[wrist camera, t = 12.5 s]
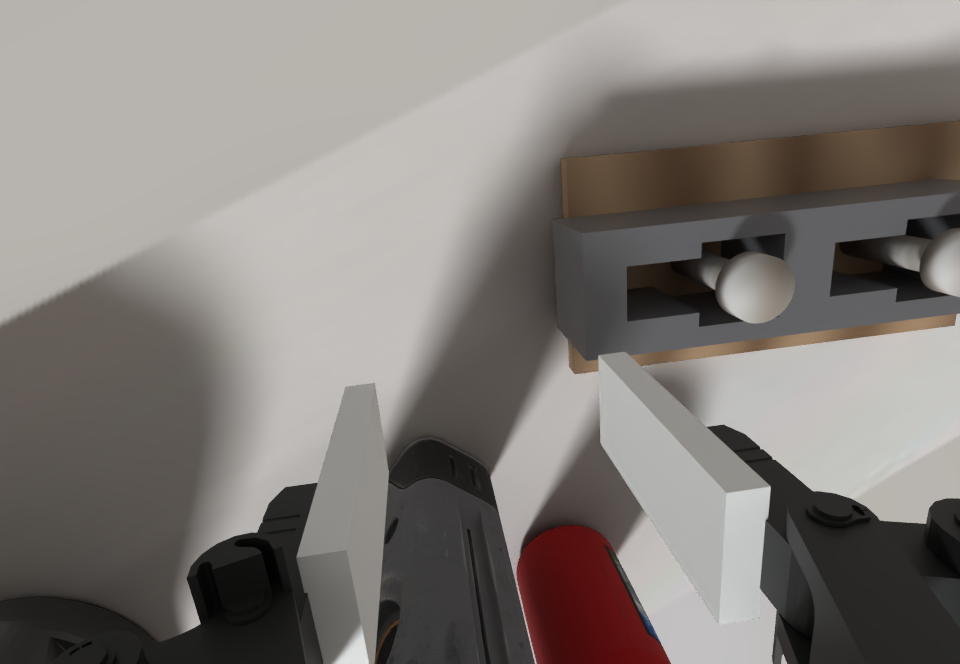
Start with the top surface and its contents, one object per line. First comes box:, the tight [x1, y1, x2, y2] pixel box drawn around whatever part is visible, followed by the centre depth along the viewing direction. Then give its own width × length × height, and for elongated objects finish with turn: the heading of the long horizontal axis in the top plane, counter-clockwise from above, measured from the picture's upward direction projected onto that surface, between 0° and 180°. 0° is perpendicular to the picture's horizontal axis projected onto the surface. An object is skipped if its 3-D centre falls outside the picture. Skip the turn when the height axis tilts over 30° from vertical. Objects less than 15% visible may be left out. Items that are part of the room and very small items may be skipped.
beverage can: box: [517, 525, 671, 664], centre depth 32 cm, size 7×7×12 cm
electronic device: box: [375, 437, 535, 664], centre depth 26 cm, size 9×6×20 cm, turn 146°
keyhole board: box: [561, 121, 960, 374], centre depth 29 cm, size 24×12×8 cm, turn 95°
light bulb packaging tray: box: [552, 179, 960, 361], centre depth 29 cm, size 22×6×6 cm, turn 95°
